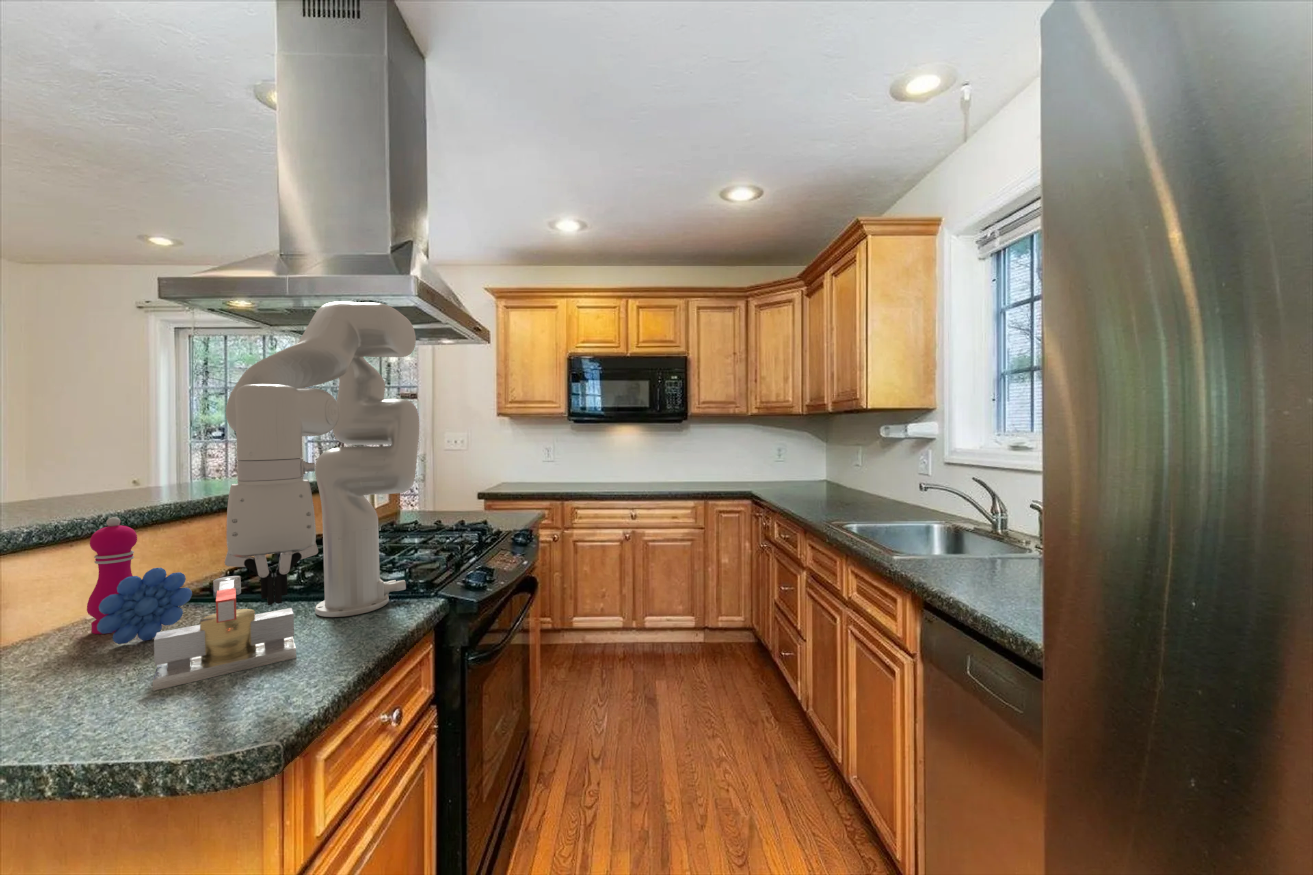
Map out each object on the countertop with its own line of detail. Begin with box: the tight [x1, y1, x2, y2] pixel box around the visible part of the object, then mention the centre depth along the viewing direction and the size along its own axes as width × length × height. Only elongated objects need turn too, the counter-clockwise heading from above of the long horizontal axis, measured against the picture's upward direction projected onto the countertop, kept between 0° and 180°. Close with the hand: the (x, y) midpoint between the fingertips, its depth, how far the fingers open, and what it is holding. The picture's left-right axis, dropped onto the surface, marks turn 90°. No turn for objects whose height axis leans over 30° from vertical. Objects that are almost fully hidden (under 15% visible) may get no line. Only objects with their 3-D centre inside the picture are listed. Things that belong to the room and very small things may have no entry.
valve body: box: [152, 607, 297, 692], centre depth 80 cm, size 16×9×10 cm, turn 128°
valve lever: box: [212, 575, 242, 623], centre depth 75 cm, size 16×3×3 cm, turn 38°
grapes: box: [97, 567, 193, 645], centre depth 91 cm, size 12×7×12 cm, turn 136°
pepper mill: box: [86, 516, 138, 635], centre depth 96 cm, size 7×7×20 cm
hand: (274, 601), depth 76 cm, fingers closed
